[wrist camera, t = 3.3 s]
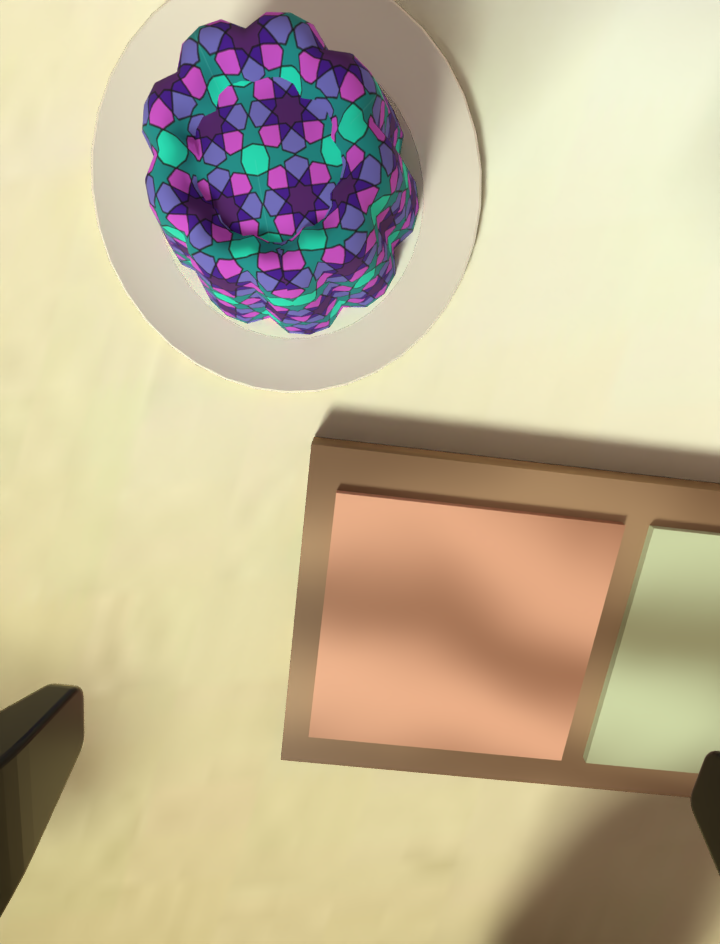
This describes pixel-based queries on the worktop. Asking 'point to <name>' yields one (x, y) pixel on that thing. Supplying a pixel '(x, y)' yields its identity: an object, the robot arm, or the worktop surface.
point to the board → (505, 620)
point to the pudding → (285, 183)
